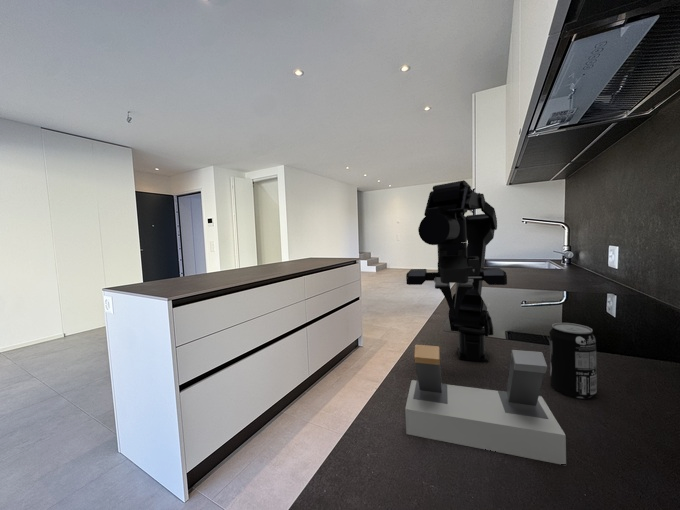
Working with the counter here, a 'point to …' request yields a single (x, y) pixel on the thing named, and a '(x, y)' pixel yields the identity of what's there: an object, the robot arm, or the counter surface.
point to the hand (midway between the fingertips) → (454, 316)
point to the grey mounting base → (485, 422)
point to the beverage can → (573, 360)
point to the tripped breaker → (428, 368)
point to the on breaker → (525, 377)
